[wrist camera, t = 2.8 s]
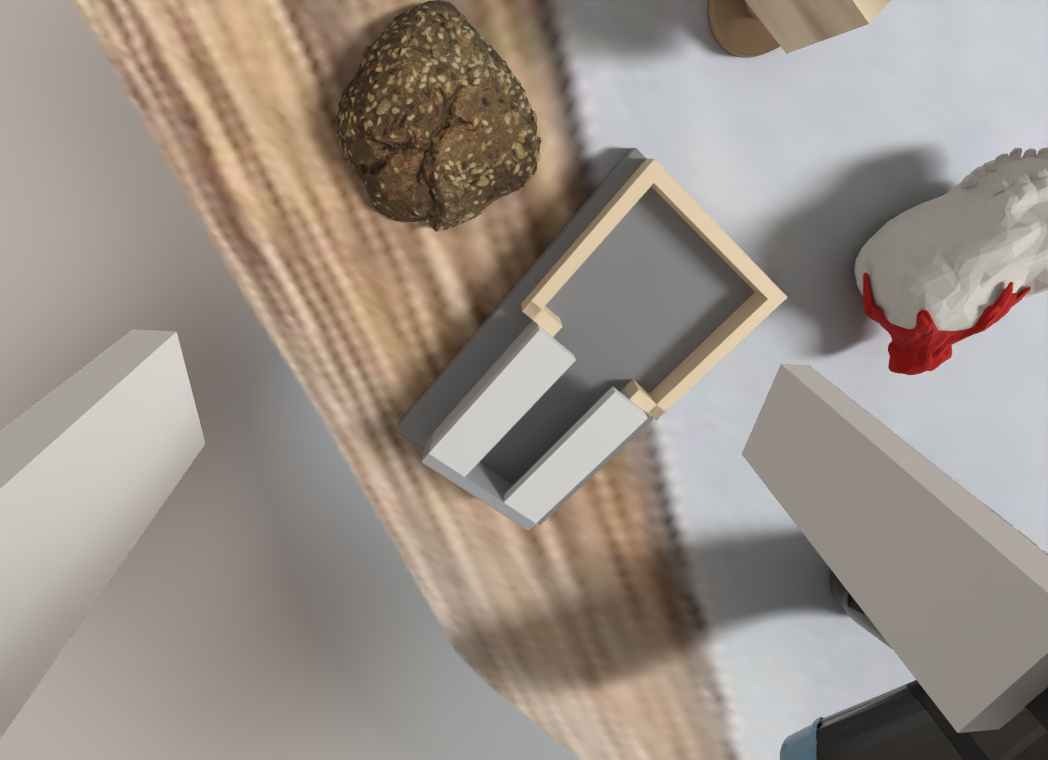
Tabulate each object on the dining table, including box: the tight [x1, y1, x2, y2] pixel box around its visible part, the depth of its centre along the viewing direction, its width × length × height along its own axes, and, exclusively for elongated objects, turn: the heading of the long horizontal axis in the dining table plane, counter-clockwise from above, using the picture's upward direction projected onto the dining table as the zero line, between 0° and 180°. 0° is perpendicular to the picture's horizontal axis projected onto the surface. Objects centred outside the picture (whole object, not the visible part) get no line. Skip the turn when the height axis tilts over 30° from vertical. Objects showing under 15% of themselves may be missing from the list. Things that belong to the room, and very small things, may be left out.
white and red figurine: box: [854, 148, 1048, 375], centre depth 35 cm, size 9×11×15 cm
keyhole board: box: [396, 148, 787, 531], centre depth 38 cm, size 28×16×5 cm, turn 139°
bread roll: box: [335, 0, 541, 231], centre depth 31 cm, size 13×12×5 cm
